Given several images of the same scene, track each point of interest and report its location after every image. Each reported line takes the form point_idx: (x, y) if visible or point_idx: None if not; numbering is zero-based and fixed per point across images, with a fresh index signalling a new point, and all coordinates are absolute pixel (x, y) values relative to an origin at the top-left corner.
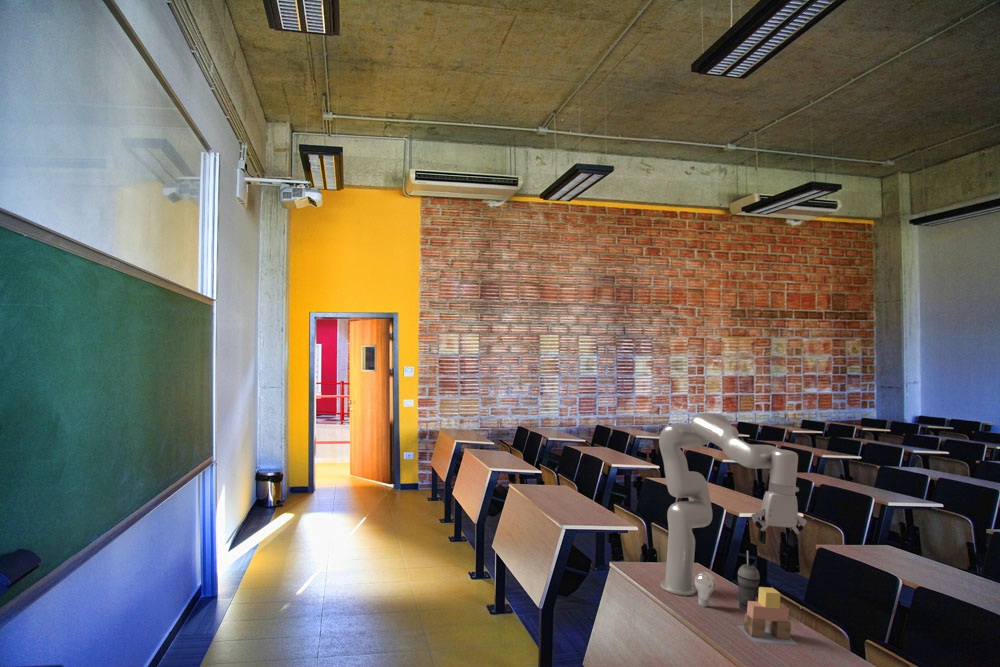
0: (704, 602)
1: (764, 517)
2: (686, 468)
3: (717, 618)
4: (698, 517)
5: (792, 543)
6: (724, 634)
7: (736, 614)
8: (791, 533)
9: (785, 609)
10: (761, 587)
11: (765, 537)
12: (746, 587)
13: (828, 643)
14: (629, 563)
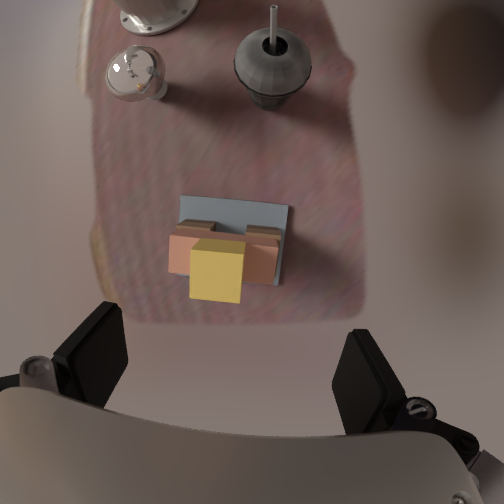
0: (149, 97)
1: (25, 449)
2: None
3: (162, 146)
4: None
5: (337, 390)
6: (139, 230)
7: (227, 116)
8: (366, 421)
9: (262, 282)
10: (197, 254)
11: (109, 392)
12: (252, 92)
13: (363, 261)
14: None
